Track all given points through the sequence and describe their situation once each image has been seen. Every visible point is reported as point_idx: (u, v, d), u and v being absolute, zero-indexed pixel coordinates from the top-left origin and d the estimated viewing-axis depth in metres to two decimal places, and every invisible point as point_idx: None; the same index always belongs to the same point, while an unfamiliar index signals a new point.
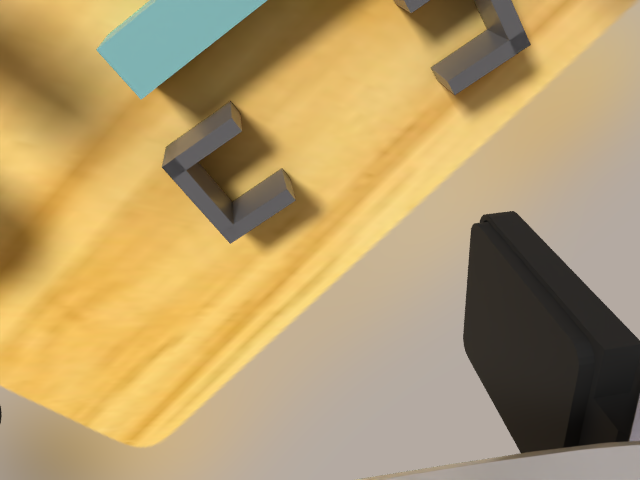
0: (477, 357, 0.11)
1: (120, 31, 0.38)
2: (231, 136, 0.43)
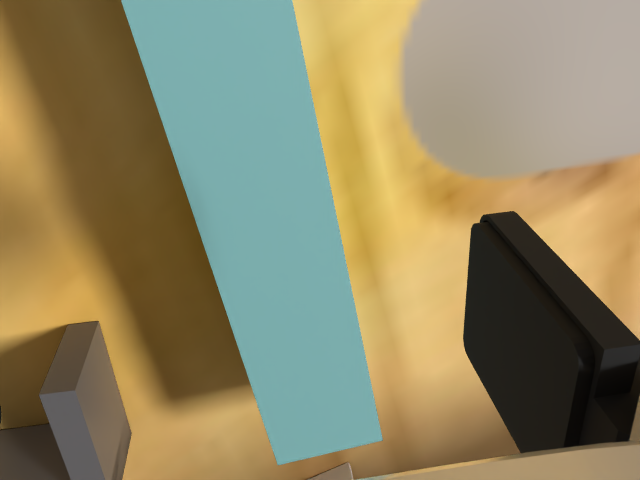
0: (477, 357, 0.11)
1: None
2: None
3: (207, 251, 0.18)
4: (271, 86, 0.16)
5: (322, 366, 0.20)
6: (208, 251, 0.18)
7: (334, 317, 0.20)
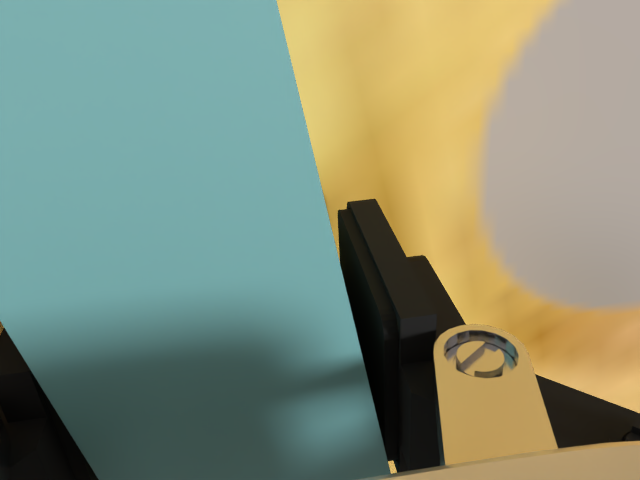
0: None
1: None
2: None
3: None
4: (255, 263, 0.07)
5: None
6: None
7: None
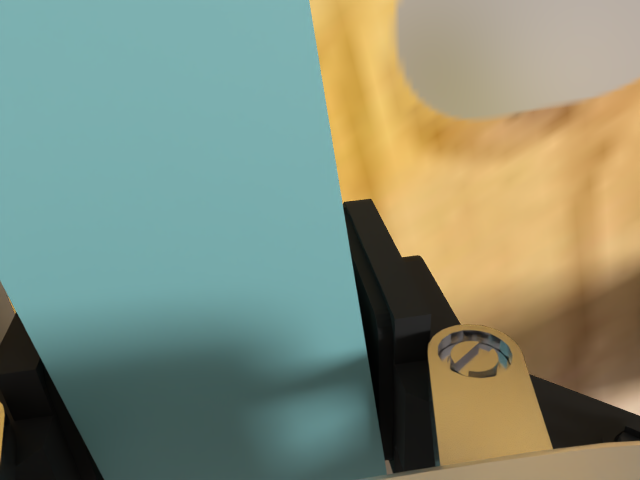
0: None
1: None
2: None
3: None
4: (268, 256, 0.07)
5: None
6: None
7: None
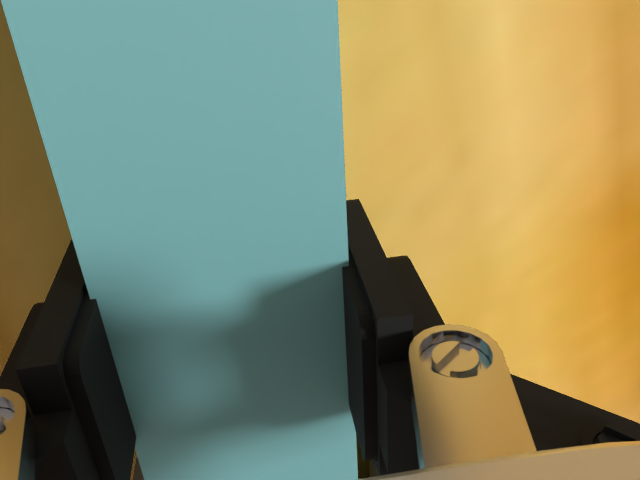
0: None
1: None
2: None
3: None
4: (277, 178, 0.09)
5: None
6: None
7: None
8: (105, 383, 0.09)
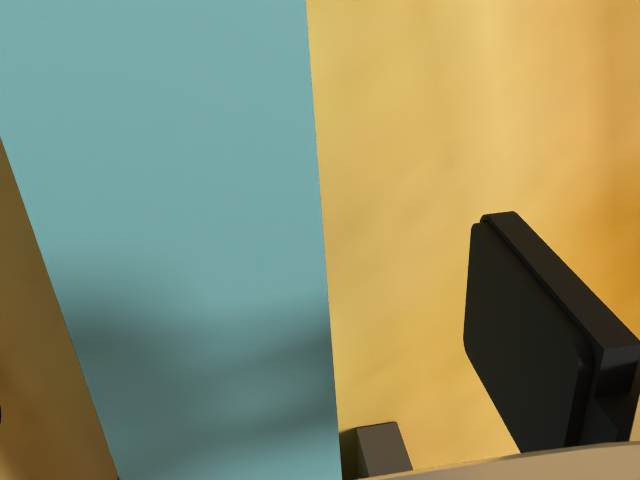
0: (477, 357, 0.11)
1: None
2: None
3: (106, 432, 0.10)
4: (248, 178, 0.08)
5: None
6: (108, 432, 0.10)
7: None
8: None
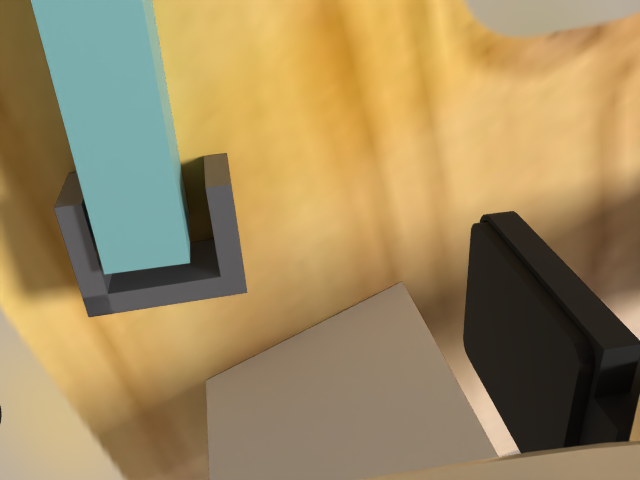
0: (477, 357, 0.11)
1: None
2: None
3: (52, 76, 0.24)
4: None
5: (141, 190, 0.27)
6: (53, 76, 0.24)
7: (151, 147, 0.26)
8: None
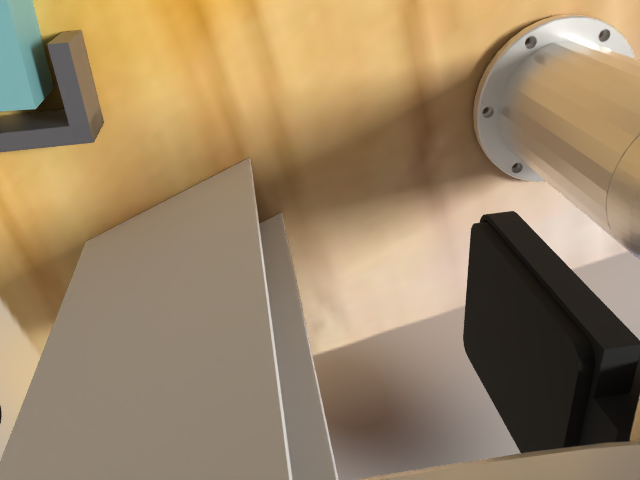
0: (477, 357, 0.11)
1: None
2: None
3: None
4: None
5: None
6: None
7: None
8: None
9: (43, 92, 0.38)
